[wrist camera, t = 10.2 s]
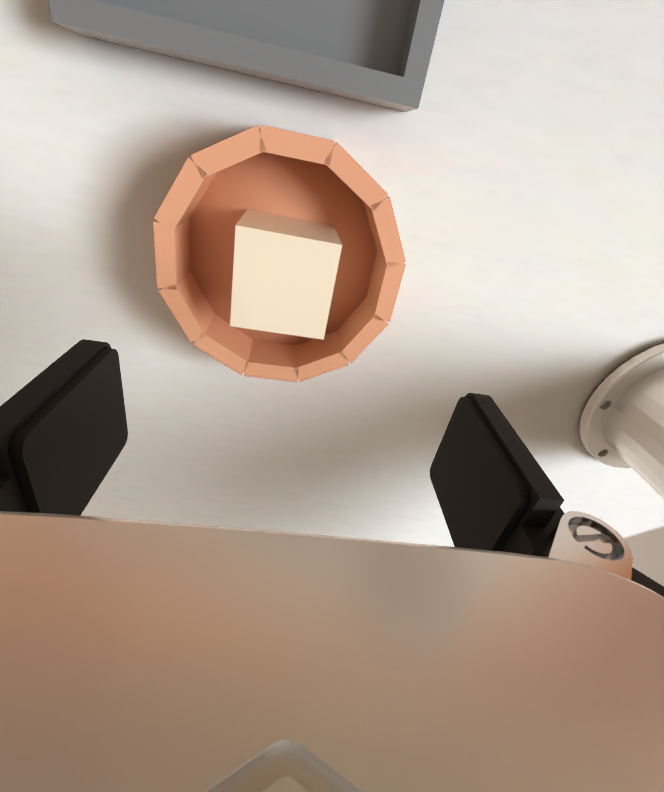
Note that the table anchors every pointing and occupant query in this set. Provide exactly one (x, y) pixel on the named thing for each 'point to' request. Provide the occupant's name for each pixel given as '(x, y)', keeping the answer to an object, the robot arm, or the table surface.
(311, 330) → the cream beige cube
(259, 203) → the bowl
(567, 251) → the table surface
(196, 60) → the parts tray
